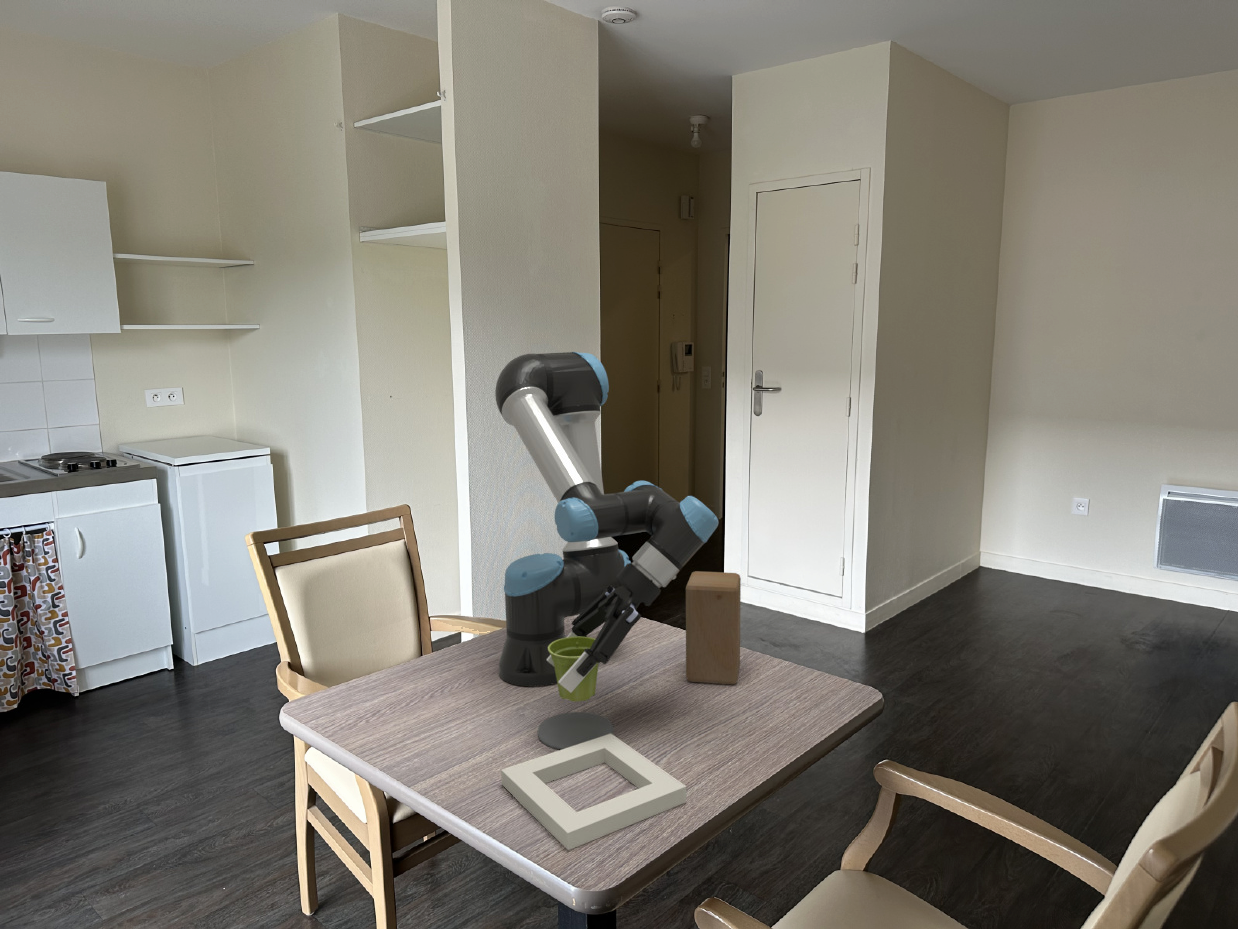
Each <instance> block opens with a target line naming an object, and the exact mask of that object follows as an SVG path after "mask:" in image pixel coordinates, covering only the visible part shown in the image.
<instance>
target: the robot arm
mask: <svg viewBox="0 0 1238 929" xmlns="http://www.w3.org/2000/svg"><path fill="white" fill-rule="evenodd" d="M495 385H496V386H495V391H494V394H495V401H496V405H497V410H498V411H499V413H500V415H501V416H502V418H503V420H504V421H505V422H506V423H507V424H509V425H510V426H512V427H514V428H515V430H516V432H517V434H518V436H519V438H520V439H521V441H522V443H523V445H524V446H525V448H526V449H527V451H528V454H529V455H530V457H531V459H532V460H533V461H534V464H535V465H536V467H537V469H538V471H539V472H540V474H541V476H542V478H543V479H544V481H545V483H546V484H547V486H548V488H549V490H550V491H551V493H552V495H553V497H554V499H555V501H557V505H556V507H555V509H554V524H555V525H556V530H557V533H558V535H559V537H560V538H561V539H562V540H563V541H565V542H567V543H566V544H565V545H564V547H563V548H562V557H561V556H560V554H556V553H550V552H545V553H541V554H540V553H534V554H528V555H526V556H523V557H519V558H518V559H516V560H514V561H512V562H511V563H510V564H509V565H508V566H507V568H506V570H505V572H504V585H503V592H504V601H505V602H504V603H505V623H506V624H505V626H506V627H505V628H506V638H505V642H504V645H503V648H502V652H501V655H500V659H499V661H498V662H499V663H498V671H499V672H498V674H499V677H500V678H501V679H502V680H503V681H504V682H506V683H508V684H511V685H515V686H520V687H544V686H549V685H553V684H557V678H556V673H555V667H554V662H553V660H552V657H551V654H550V653H549V651H548V646H549V645H550V644H551V643H552V642H554V641H556V640H559V639H562V638H567V637H577V636H581V637H588V635H589V634H591V633H592V632H593V631H595V630H596V629H598V628H599V627H601V626H602V627H601V629H600V630H599V632H598V634H597V636H596V638H595V641H594V642H593V644H592V646H591V648H590V649H585V650H584V651H585V652H584V653H583V654H582V655H581V656H580V657H579V658H578V660H577V661H576V662H575V663H574V664H573V665H572V666H571V668H570V669H569V670H568V671H567V672H566V673H565V674H564V676H563V677H562V678H561V679H560V680H559V681H558V682H559V684H560V685H562V686H563V687H564V688H565V689H567V690H568V691H569V692H570V693H571V692H572V691H573V690H574V689H575V688H576V687H577V686H578V684H579V683H580V682H581V681H582V680H583V679H584V678H585V676H586V675H587V674H588V673H589V672H590V671H591V670H592V668H593V667H594V666H595V665H596V664H597V663H599V664H601V663H602V664H603V665H606V664H607V663H608V662H609V661H610V659H611V658H612V656H614V654H615V652H616V651H617V649H618V648H619V646H620V645H621V644H622V642H623V641H624V639H625V638H626V636H628V634H629V632H630V631H631V629H632V628H633V627H634V626H635V625H636V624H637V622H639V620H640V619H641V618H642V615H641V614H640V613H639V612H638V611H637V609H638V607H639V606H640V604H641V603H642V604H643V605H644V606H646V607H647V606H648V607H649V606H651V605H652V603H653V602H654V601H655V600H656V599H657V598H658V596H660V594H661V591H662V590H661V589H660V588H666V587H667V586H668V585H669V584H670V582H672V580H675V579H676V578H677V575H678V574H679V572H680V571H681V570H682V569H683V567H684V566H685V565H687V563H688V562H689V561H690V560H691V558H692V557H693V556H694V555H695V554H696V553H697V552H698V551H699V550H700V549H701V548H702V546H703V545H704V544H705V543H707V542H708V540H709V539H710V537H711V536H712V535H713V533H714V532H715V531H716V530H717V528H718V526H719V518H718V517H717V515H715V513H714V512H713V511H712V510H711V509H710V508H709V507H707V505H705V504H704V503H703V502H702V501H700V500H699V499H698V498H696V497H695V496H693V495H687V496H686V497H685V498H684V499H682V500H680V502H679V501H678V500H676V498H674V497H672V496H671V495H669V494H668V493H667V492H665V491H664V490H663V489H662V488H660V487H659V486H657V485H655V484H653V483H651V482H650V481H646V480H637V481H634V482H633V483H632V484H630V485H629V486H627V487H626V488H625V489H624V491H620V492H614V493H613V492H612V493H604V483H603V476H602V468H601V460H600V452H599V445H598V438H597V437H598V436H597V430H596V428H597V427H596V421H597V419H598V418H599V416H600V415H601V414H602V413H601V411H602V410H601V407H602V406H603V405H604V404H605V403H607V399H608V397H609V396H608V393H609V391H610V389H609V388H610V386H609V378H608V374H607V371H606V368H605V366H604V365H603V364H602V362H601V361H600V359H598V358H597V357H596V356H595V355H594V354H592V353H589V352H576V351H568V352H549V353H548V352H547V353H545V352H544V353H525V354H522V355H519V356H517V357H514V358H513V359H512V360H510V361H509V362H508V363H507V364H506V365H505V366H504V367H503V369H502V370H501V372H500V374H499V375H498V378H497V381H496V384H495ZM642 532H644V533H645V532H647V533H648V534H649V535H651V536H650V538H648V539H647V541H645V543H644V544H643V545H642V546H641V547H640V548H639V550H637V551H636V552H635V553H634V555H633V556H632V562H631V560H629V559H630V557H629V556H628V554H627V553H626V552H625V551H624V550H621V549H619V545H618V543H619V542H617V541H616V540H615V539H614V538H613V537H617V536H618V537H619V536H624V535H632V534H637V533H638V534H639V533H642ZM575 616H577V617H575ZM570 617H575V618H574V619H573V620H572V621H571V625H572V628H571V631H570V632H569V633H568V634H567V636H566V633H565V632H566V631H565V618H570Z"/></svg>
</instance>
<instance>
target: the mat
mask: <svg viewBox="0 0 1238 929" xmlns="http://www.w3.org/2000/svg"><path fill="white" fill-rule="evenodd" d="M608 734H612V735H614V734H615V733H614V725H613V723H612V722H611V720H609V719H608V718H606V717H605V716H603V715H600V714H597V713H593V712H585V711H574V712H573V711H572V712H566V713H565V712H564V713H560V714H556V715H553V716H551V717H549V718H547V719H546V720H544V721H543V722H541V724H540V725H539V726H538V729H537V737H538V740H539V741H540V742H541V743H542V744H544V745H545V746H547V747H549V748H551V749H555V750H557V751H559V749H560V750H562V749H565V748H568V747H571V746H574V745H577V744H580V743H583V742H586V741H590V740H593V739H596V738H599V737H602V736H605V735H608Z"/></svg>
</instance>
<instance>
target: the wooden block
mask: <svg viewBox="0 0 1238 929" xmlns="http://www.w3.org/2000/svg"><path fill="white" fill-rule="evenodd" d="M741 587H742V586H741V575H740V574H739V573H737V572H724V571H723V572H722V571H721V572H720V571H719V572H718V571H698V570H697V571H696V570H695V571H693V572H691V575H690V576H689V580H688V581H687V584H686V586H685V677H686V680H687V681H689V682H694V683H706V684H721V685H735V684H736V683H737V682H738V678H739V673H740V671H739V670H740V666H741V596H742V595H741V590H742V589H741Z"/></svg>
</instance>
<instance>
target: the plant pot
mask: <svg viewBox="0 0 1238 929" xmlns="http://www.w3.org/2000/svg"><path fill="white" fill-rule="evenodd" d="M566 637H567V636H566ZM595 639H596V638H594V637H590V636H587V637H581V636H577V637H567V638H562V639H559V640H556V641H554V642H552V643H551V644H550V645H549V646H548V651H549V653H550V654H551V657H552V660H553V662H554V667H555V673H556V678H557V683H556V684H557V688H558V694H559V697H560V698H561V699H562V700H568V701H570V702H574V703H575V702H586V701H587V700H590V698H591V697H592V696H595V695H596V688H597V682H598V681H597V679H598V669H599V664H600V663H597V664H596V665H595V666H594V667H593V668H592V670H591V671H590V672H589V673H588V674H587V675H586V676H585V678H584V679H583V680H582V681H581V682H580V683H579V684H578V686H577V687H576V688H575V689H574V690H573V691H572V692H571V693H570V692H569V691H568V690H567V689H565V688H564V687H563V686H562V685H560V684H559V682H558V681H559V680H560V679H561V678H562V677H563V676H564V674H565V673H566V672H567V671H568V670H569V669H570V668H571V666H572V665H573V664H574V663H575V662H576V661H577V660H578V658H579V657H580V656H581V655H582V654H583V653H584V652H585V651H584V650H585V649H590V648H591V646H592V644H593V642H594V641H595Z"/></svg>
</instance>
